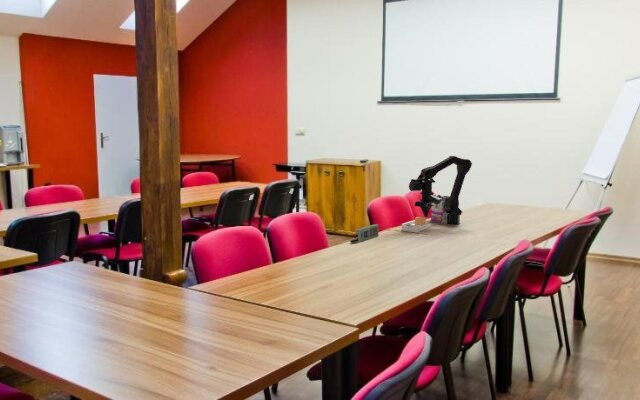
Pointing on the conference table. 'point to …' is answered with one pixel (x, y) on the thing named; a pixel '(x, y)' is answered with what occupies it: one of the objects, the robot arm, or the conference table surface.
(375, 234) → the handheld radio
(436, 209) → the candy bar box
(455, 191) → the robot arm
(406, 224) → the white box
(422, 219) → the orange cube
